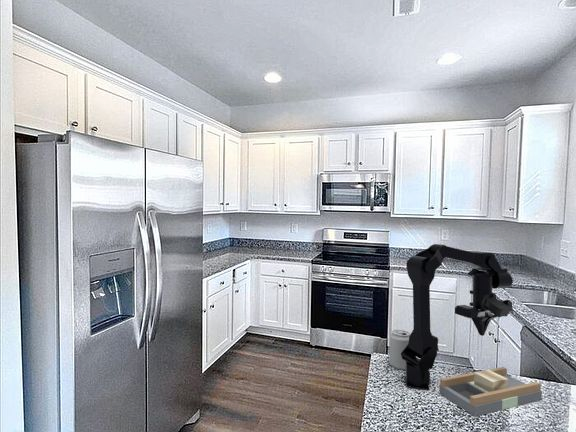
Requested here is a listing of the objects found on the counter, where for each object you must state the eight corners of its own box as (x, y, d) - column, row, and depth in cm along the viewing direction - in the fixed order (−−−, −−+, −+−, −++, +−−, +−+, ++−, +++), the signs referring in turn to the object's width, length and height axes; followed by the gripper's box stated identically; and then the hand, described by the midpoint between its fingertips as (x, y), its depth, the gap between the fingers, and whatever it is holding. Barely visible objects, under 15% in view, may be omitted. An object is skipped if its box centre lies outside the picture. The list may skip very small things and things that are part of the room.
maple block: (492, 394, 92) (492, 381, 92) (474, 384, 98) (474, 372, 98) (507, 391, 94) (508, 378, 94) (488, 381, 100) (489, 369, 100)
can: (413, 372, 111) (413, 336, 111) (390, 369, 112) (390, 334, 112) (409, 362, 118) (410, 329, 118) (388, 360, 120) (388, 327, 120)
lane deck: (474, 416, 86) (475, 399, 86) (439, 393, 97) (439, 378, 97) (541, 399, 95) (541, 384, 95) (502, 380, 106) (502, 366, 106)
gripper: (483, 295, 100) (482, 347, 100) (525, 292, 106) (525, 340, 106) (453, 288, 111) (453, 334, 110) (493, 285, 117) (493, 329, 117)
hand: (481, 335), depth 111 cm, fingers closed
